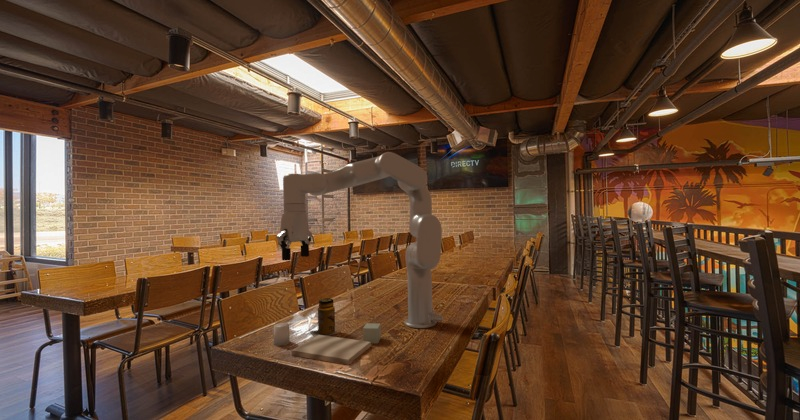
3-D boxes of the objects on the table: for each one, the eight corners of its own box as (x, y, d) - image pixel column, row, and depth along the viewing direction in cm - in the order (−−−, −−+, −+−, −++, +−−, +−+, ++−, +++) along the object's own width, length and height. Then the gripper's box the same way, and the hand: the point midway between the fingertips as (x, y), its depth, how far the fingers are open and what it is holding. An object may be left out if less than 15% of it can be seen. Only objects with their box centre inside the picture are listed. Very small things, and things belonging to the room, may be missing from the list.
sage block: (380, 338, 115) (380, 323, 115) (378, 343, 110) (377, 328, 110) (366, 337, 116) (366, 323, 116) (363, 343, 111) (363, 328, 111)
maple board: (370, 346, 108) (370, 341, 108) (348, 364, 95) (348, 359, 95) (318, 339, 115) (318, 334, 115) (291, 355, 102) (291, 350, 102)
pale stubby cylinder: (292, 341, 114) (292, 323, 114) (282, 346, 109) (282, 328, 109) (281, 339, 116) (280, 322, 116) (270, 344, 111) (270, 326, 111)
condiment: (339, 333, 121) (338, 300, 121) (316, 338, 116) (315, 303, 116) (331, 327, 127) (330, 296, 127) (309, 332, 122) (309, 299, 122)
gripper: (302, 209, 126) (303, 255, 126) (268, 209, 110) (269, 261, 110) (318, 209, 123) (319, 255, 123) (286, 208, 107) (287, 262, 107)
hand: (296, 258), depth 116 cm, fingers open, 9 cm apart
